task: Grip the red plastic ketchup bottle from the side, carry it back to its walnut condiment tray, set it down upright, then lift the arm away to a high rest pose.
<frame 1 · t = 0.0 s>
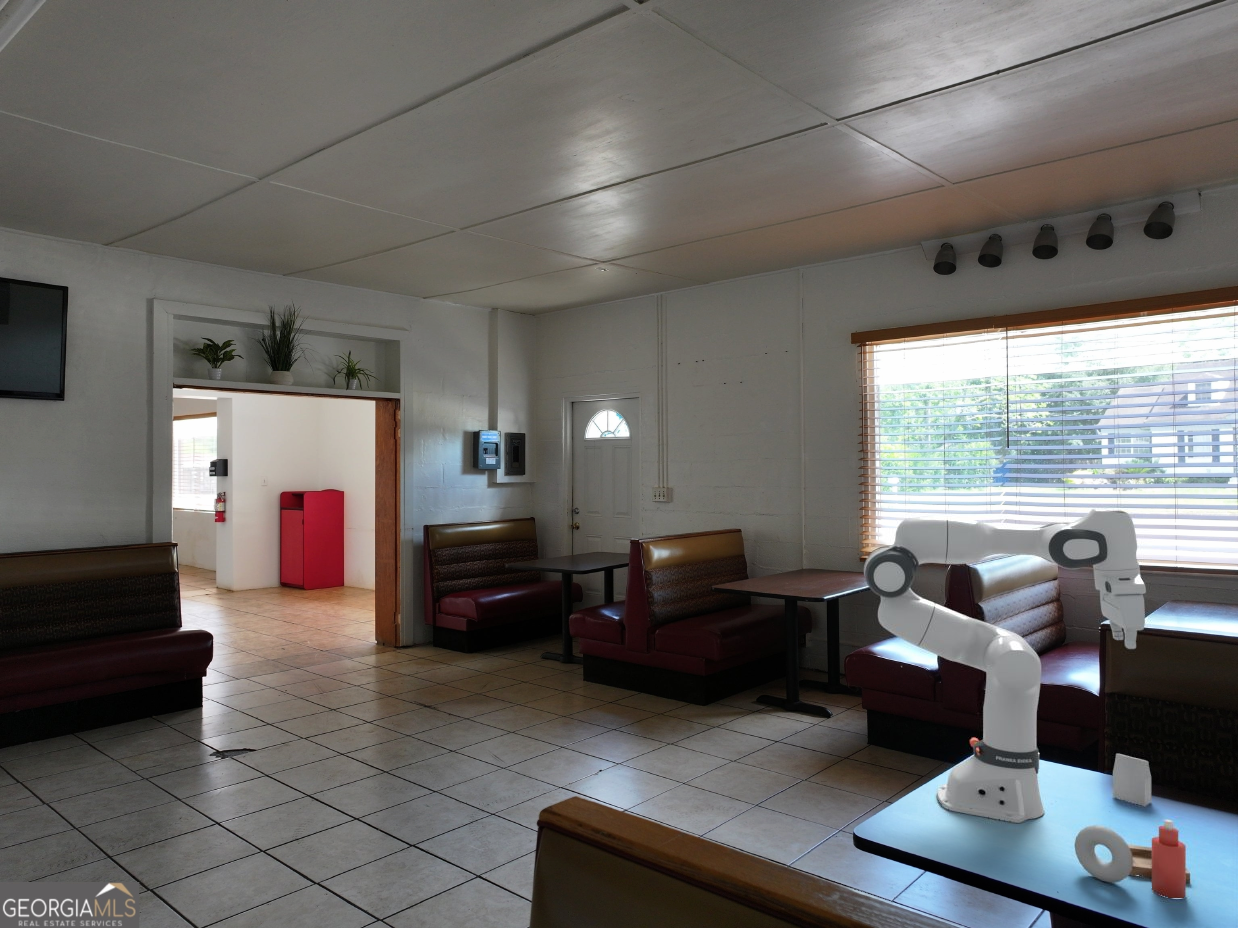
hand: (1124, 643, 183), 39 cm above the table, tool pointing down, fingers open, 8 cm apart
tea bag: (1131, 801, 194), on the table
condiment tray: (1151, 867, 162), on the table
donut: (1103, 881, 156), on the table
ketchup bottle: (1168, 892, 152), on the table
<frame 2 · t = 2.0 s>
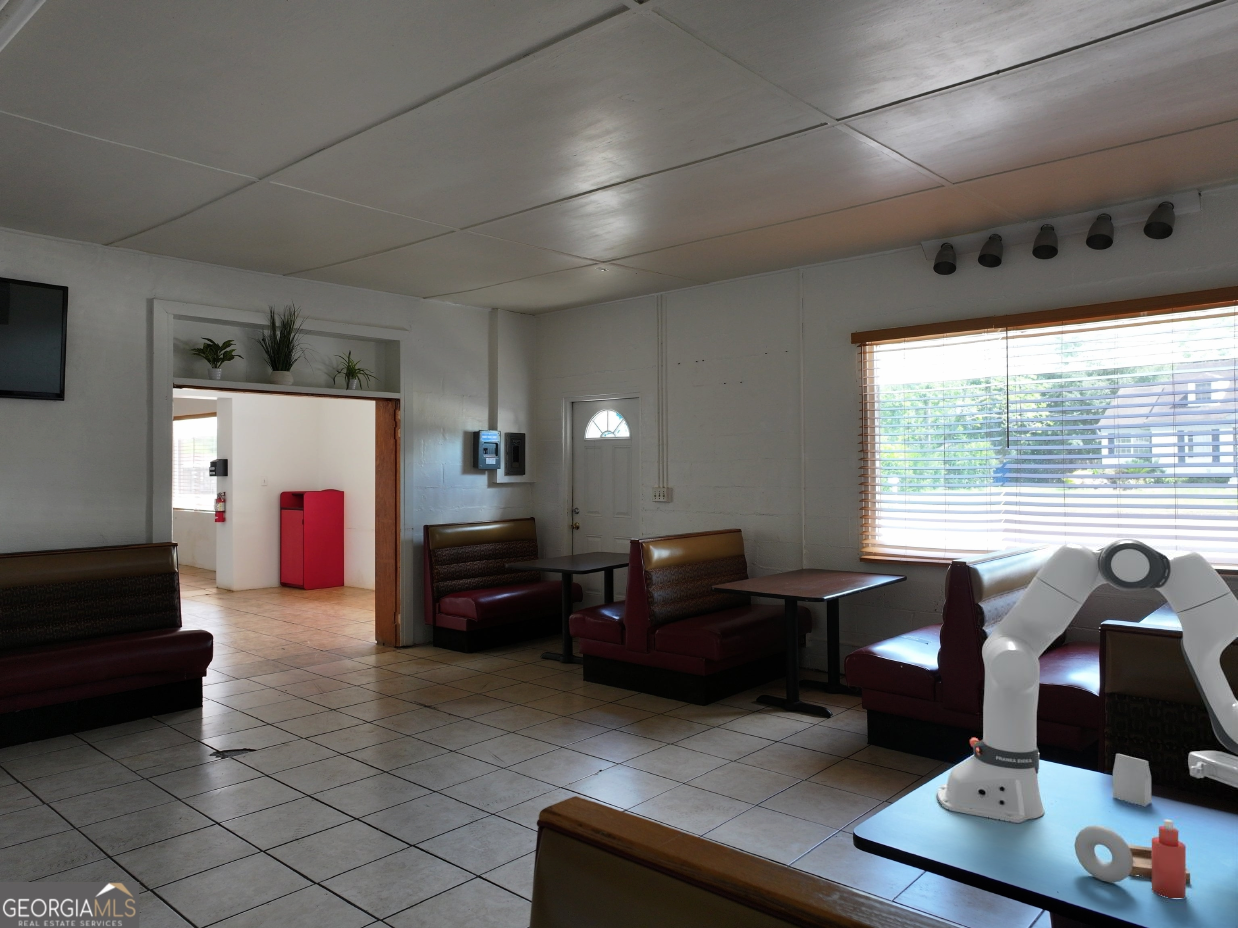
hand: (1217, 781, 155), 19 cm above the table, tool horizontal, fingers open, 8 cm apart
nothing on the table moved.
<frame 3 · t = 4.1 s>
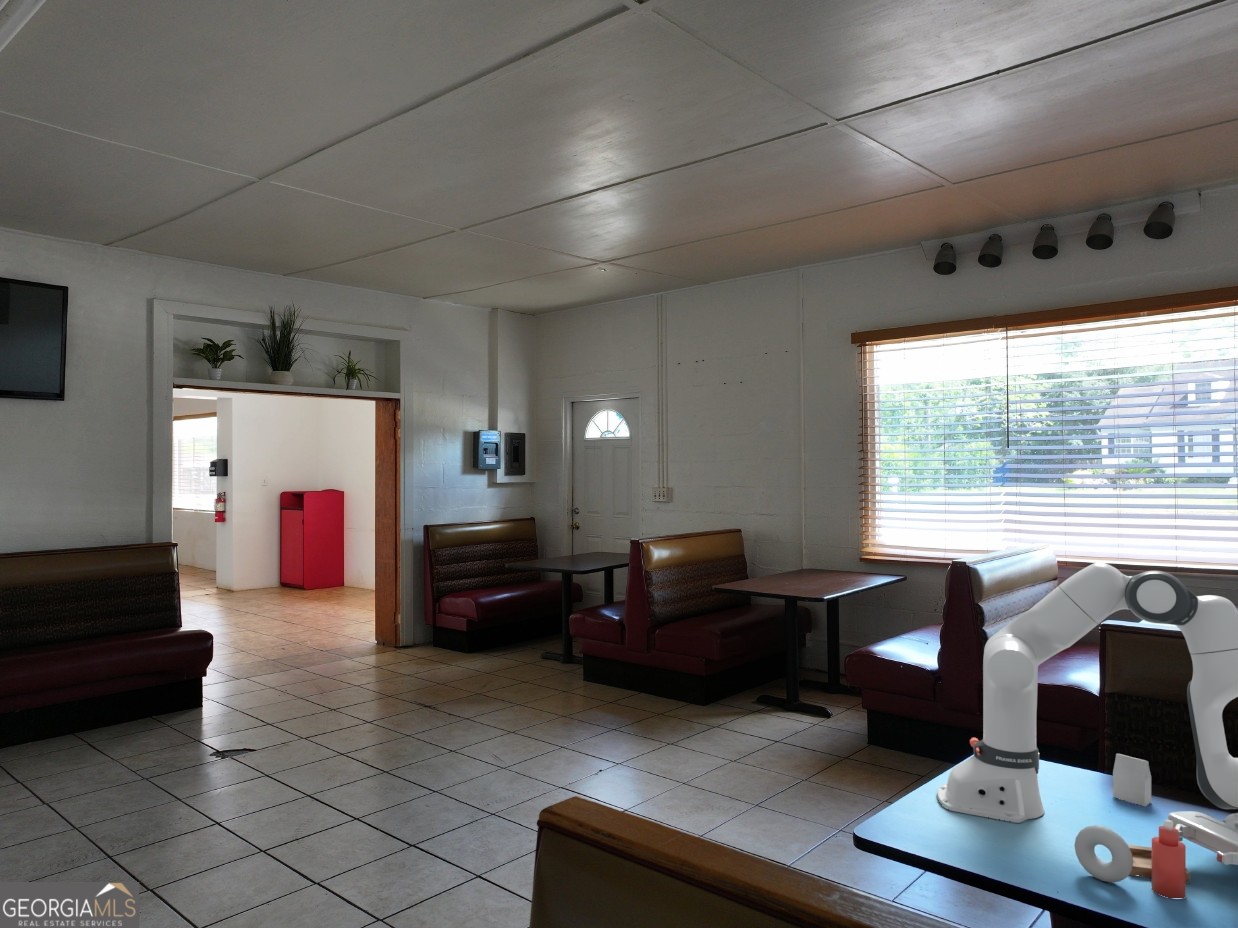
hand: (1195, 846, 154), 7 cm above the table, tool horizontal, fingers open, 8 cm apart
nothing on the table moved.
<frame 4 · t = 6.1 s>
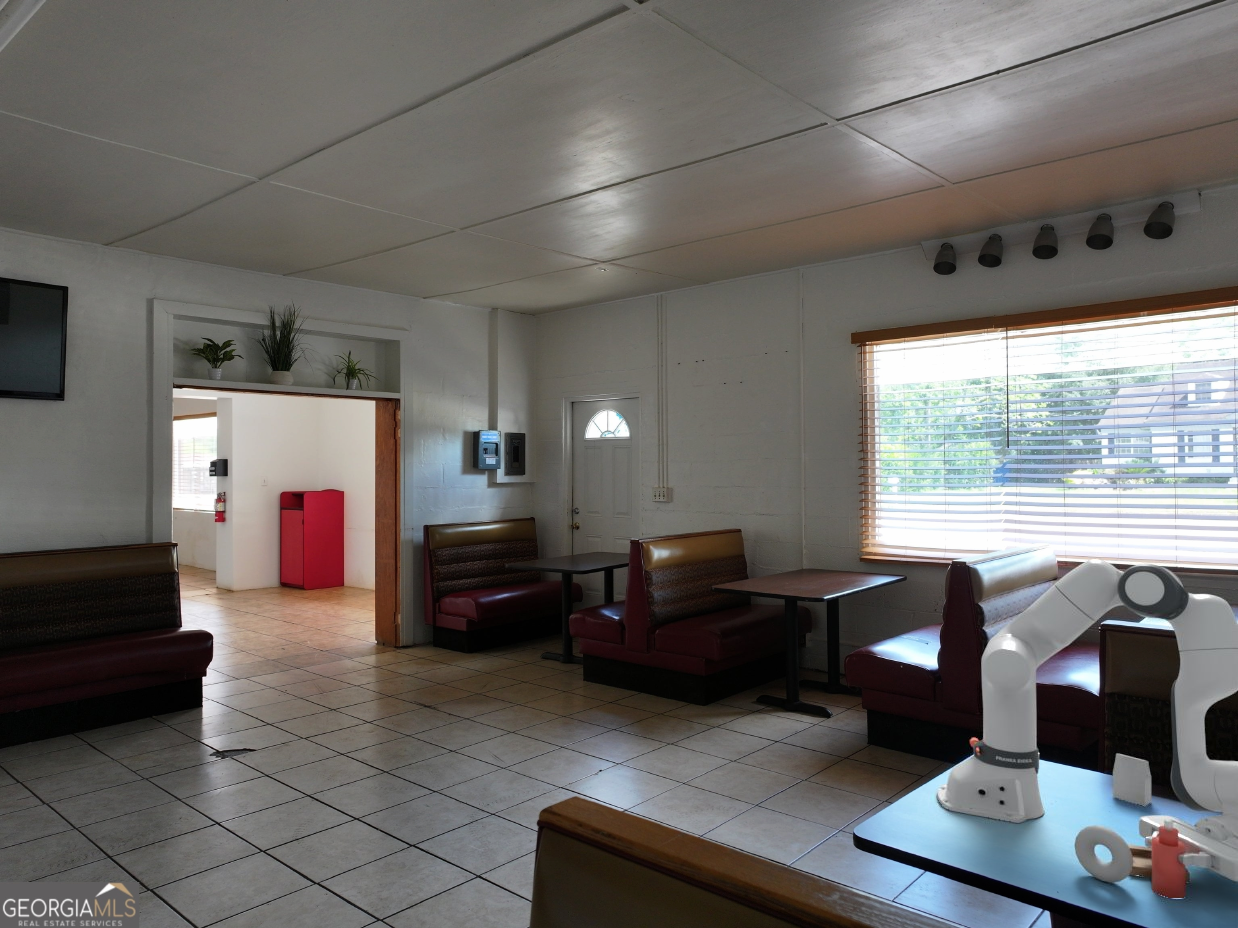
hand: (1164, 851, 152), 8 cm above the table, tool horizontal, fingers closed on ketchup bottle, 5 cm apart
ketchup bottle: (1168, 892, 152), on the table, touching gripper
everything else where it was.
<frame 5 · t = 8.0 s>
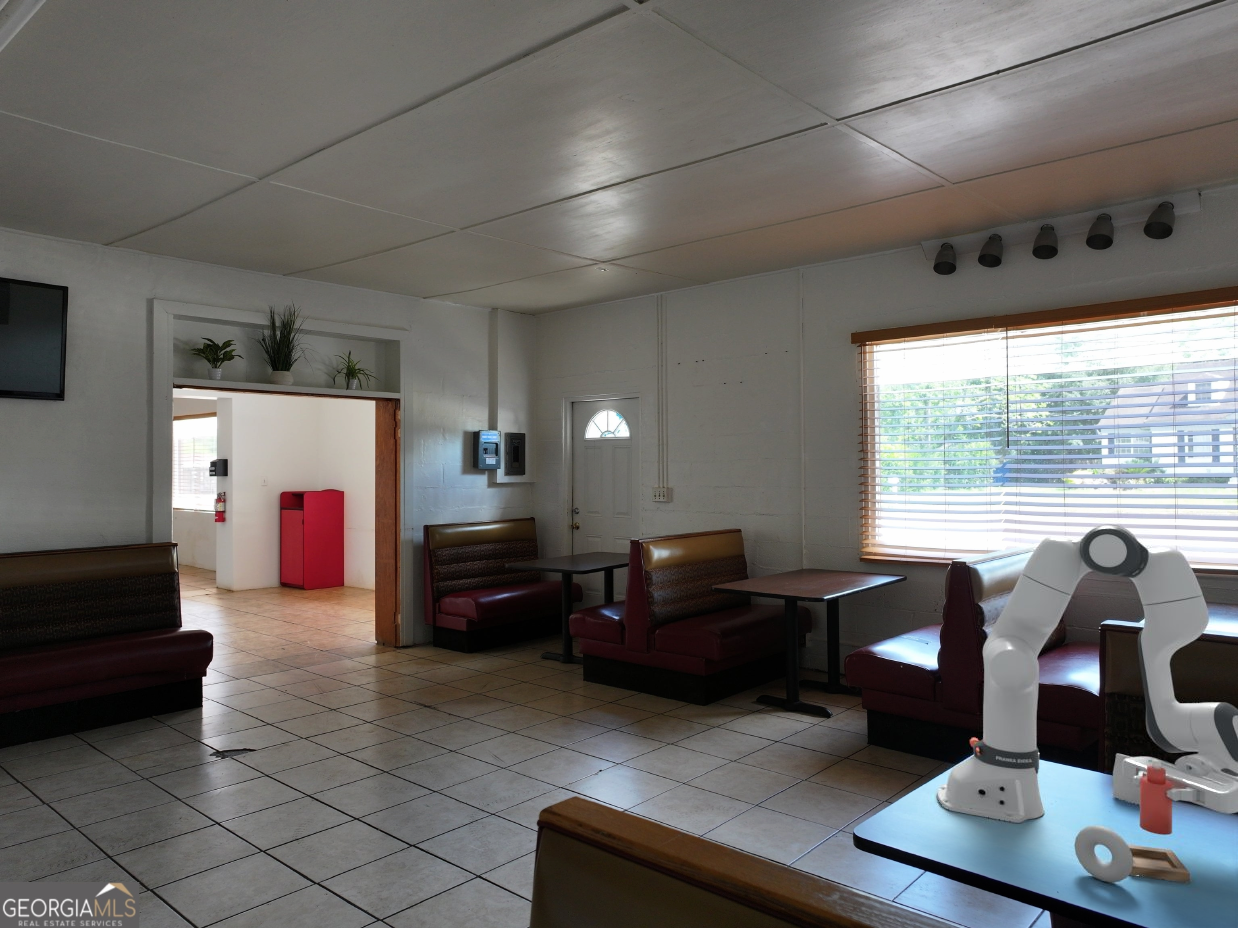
hand: (1152, 788, 158), 17 cm above the table, tool horizontal, fingers closed on ketchup bottle, 5 cm apart
ketchup bottle: (1155, 828, 159), point 9 cm above the table, touching gripper
everything else where it was.
when the fingers open (9 cm above the table, at t = 10.1 s): ketchup bottle stays where it is, resting on condiment tray.
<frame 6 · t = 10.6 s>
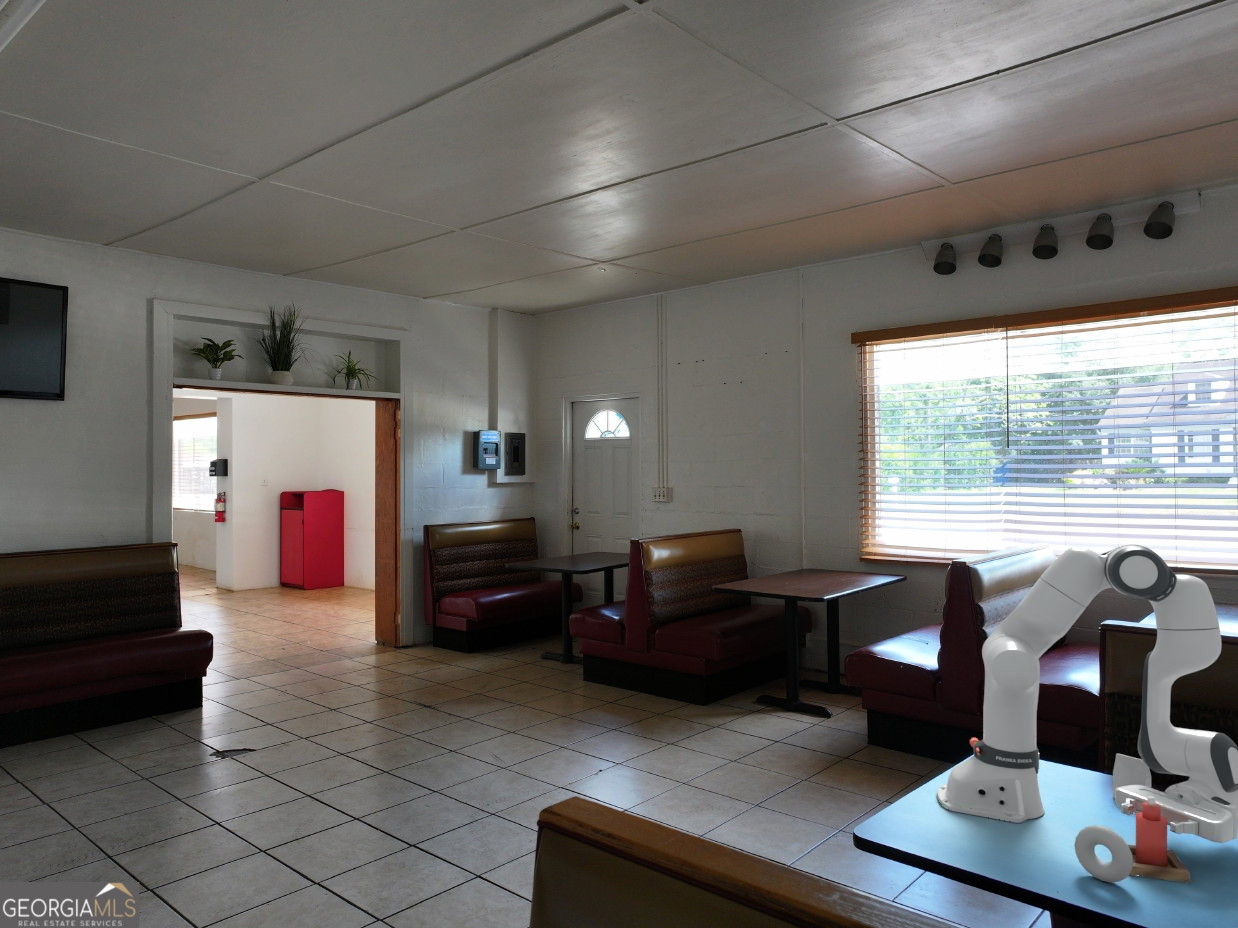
hand: (1148, 819, 161), 9 cm above the table, tool horizontal, fingers open, 8 cm apart
ketchup bottle: (1151, 864, 162), point 1 cm above the table, touching condiment tray
everything else where it was.
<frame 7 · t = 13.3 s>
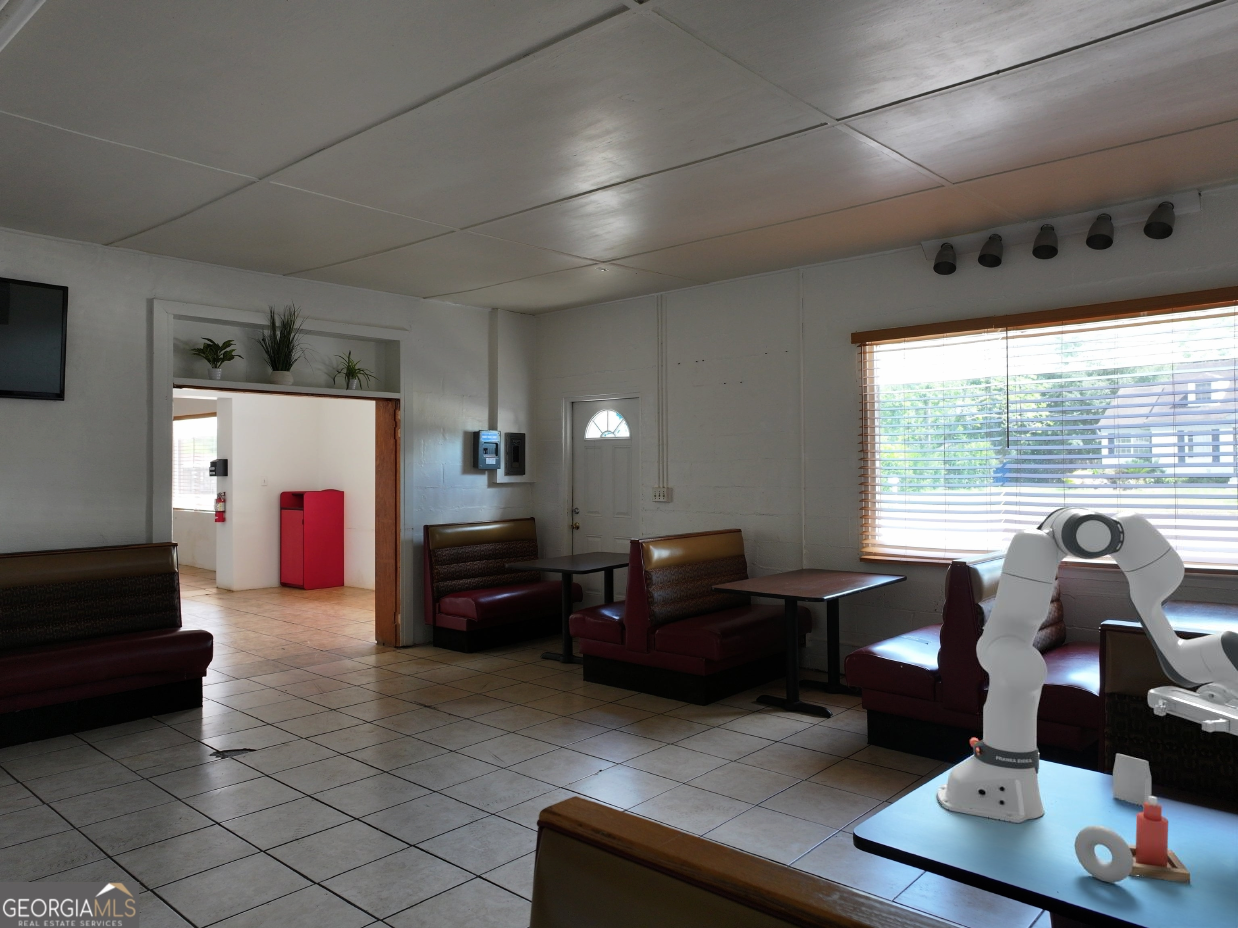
hand: (1180, 719, 169), 26 cm above the table, tool horizontal, fingers open, 8 cm apart
nothing on the table moved.
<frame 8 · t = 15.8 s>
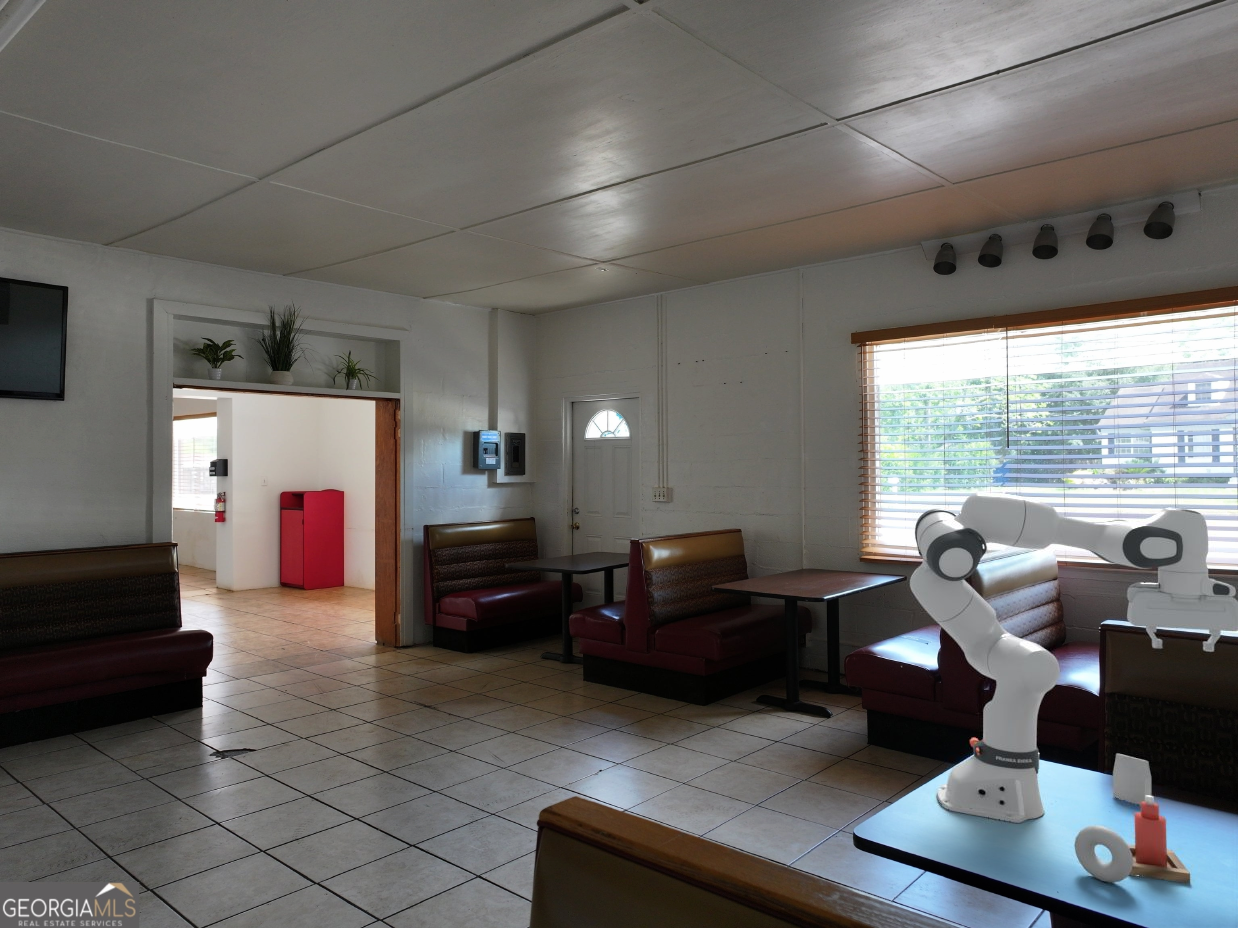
hand: (1182, 649, 177), 39 cm above the table, tool pointing down, fingers open, 8 cm apart
nothing on the table moved.
at the end: ketchup bottle 0.1 cm off-centre on the condiment tray, point 0.6 cm above the condiment tray's base; ketchup bottle tilted 2°; the gripper is holding nothing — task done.
